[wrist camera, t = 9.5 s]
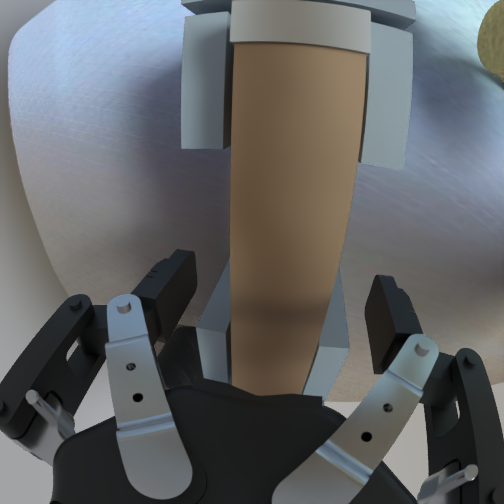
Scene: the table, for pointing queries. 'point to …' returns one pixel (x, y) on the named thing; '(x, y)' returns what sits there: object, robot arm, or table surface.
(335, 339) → the pair of grey brackets
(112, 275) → the table surface
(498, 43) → the wall sconce
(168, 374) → the travel mug
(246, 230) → the brown wooden bar
